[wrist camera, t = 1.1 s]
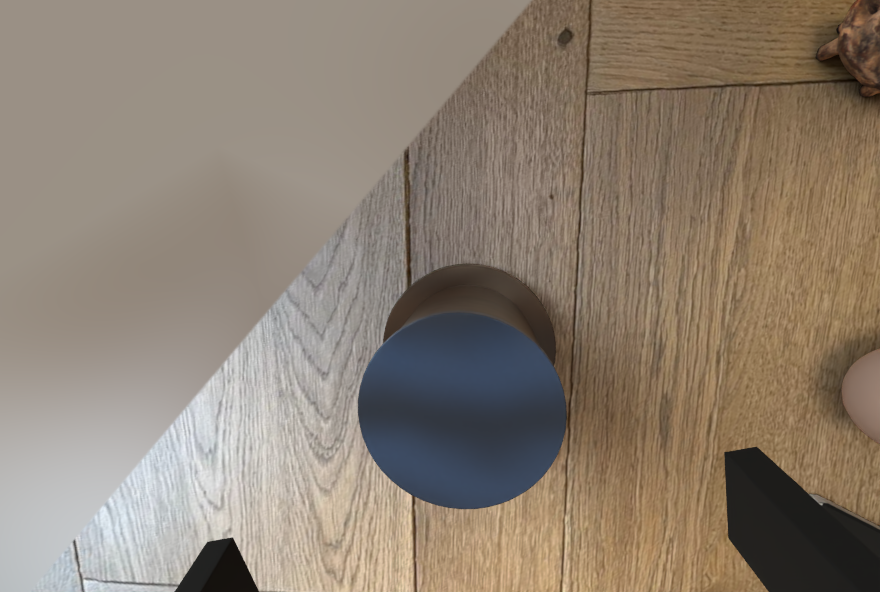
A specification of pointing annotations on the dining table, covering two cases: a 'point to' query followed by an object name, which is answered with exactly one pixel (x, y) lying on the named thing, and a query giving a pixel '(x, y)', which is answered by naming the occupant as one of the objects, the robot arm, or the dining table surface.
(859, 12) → the figurine
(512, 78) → the dining table surface
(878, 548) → the smartphone
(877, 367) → the egg
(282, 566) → the dining table surface
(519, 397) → the pedestal
